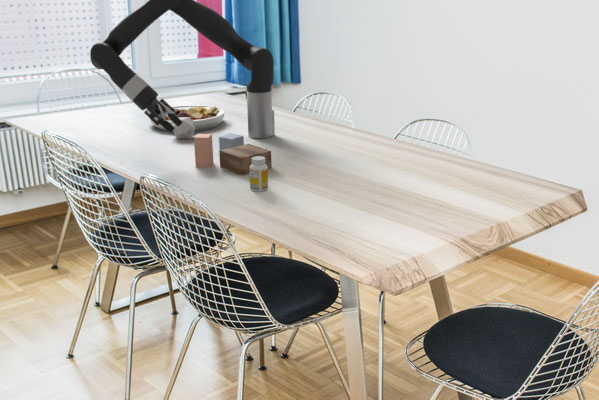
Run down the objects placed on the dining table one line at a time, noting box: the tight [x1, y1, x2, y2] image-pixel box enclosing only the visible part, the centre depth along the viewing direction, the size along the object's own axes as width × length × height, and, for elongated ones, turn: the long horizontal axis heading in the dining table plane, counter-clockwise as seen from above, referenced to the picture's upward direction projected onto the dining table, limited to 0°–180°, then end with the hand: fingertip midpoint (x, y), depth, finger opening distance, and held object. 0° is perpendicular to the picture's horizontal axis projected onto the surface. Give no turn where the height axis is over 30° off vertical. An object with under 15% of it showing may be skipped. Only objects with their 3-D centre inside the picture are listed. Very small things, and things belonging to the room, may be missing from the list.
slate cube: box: [218, 132, 245, 150], centre depth 248 cm, size 6×6×6 cm
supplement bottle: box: [249, 156, 269, 193], centre depth 210 cm, size 5×5×10 cm
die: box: [172, 117, 196, 140], centre depth 268 cm, size 8×9×10 cm
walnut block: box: [218, 143, 273, 176], centre depth 231 cm, size 12×12×6 cm
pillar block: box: [193, 133, 214, 168], centre depth 234 cm, size 5×5×10 cm
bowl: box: [149, 104, 225, 132], centre depth 289 cm, size 30×30×8 cm
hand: (176, 127), depth 232 cm, fingers open, 8 cm apart
